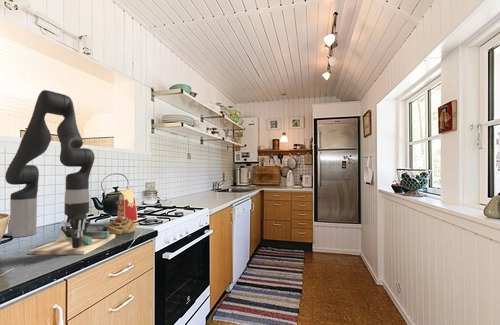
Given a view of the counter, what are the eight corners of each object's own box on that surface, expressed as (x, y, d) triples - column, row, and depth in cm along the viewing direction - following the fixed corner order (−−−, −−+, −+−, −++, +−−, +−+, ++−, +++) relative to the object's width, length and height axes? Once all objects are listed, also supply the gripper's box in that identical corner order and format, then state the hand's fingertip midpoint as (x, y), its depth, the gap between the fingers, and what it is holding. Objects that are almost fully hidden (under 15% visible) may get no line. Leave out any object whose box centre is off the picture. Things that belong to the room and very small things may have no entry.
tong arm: (72, 239, 101) (72, 233, 101) (76, 238, 102) (76, 233, 102) (87, 244, 95) (87, 238, 95) (91, 243, 96) (92, 237, 96)
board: (29, 254, 88) (29, 250, 89) (71, 237, 109) (71, 234, 110) (84, 254, 89) (84, 250, 89) (115, 237, 110) (115, 234, 110)
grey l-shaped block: (58, 240, 99) (58, 228, 99) (70, 235, 107) (71, 224, 107) (65, 240, 99) (65, 228, 100) (77, 235, 107) (77, 224, 107)
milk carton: (131, 218, 148) (131, 186, 148) (138, 221, 142) (138, 187, 142) (115, 221, 141) (115, 187, 141) (122, 224, 135) (122, 188, 135)
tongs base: (70, 239, 102) (70, 232, 102) (75, 237, 105) (75, 230, 105) (105, 239, 102) (105, 232, 102) (109, 237, 105) (109, 230, 105)
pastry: (103, 237, 111) (103, 219, 111) (109, 229, 125) (109, 213, 125) (135, 234, 116) (135, 217, 116) (137, 226, 130) (137, 211, 130)
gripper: (79, 198, 97) (78, 241, 96) (52, 204, 83) (52, 254, 83) (98, 198, 97) (97, 241, 96) (74, 204, 83) (74, 254, 83)
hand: (76, 247), depth 90 cm, fingers closed
